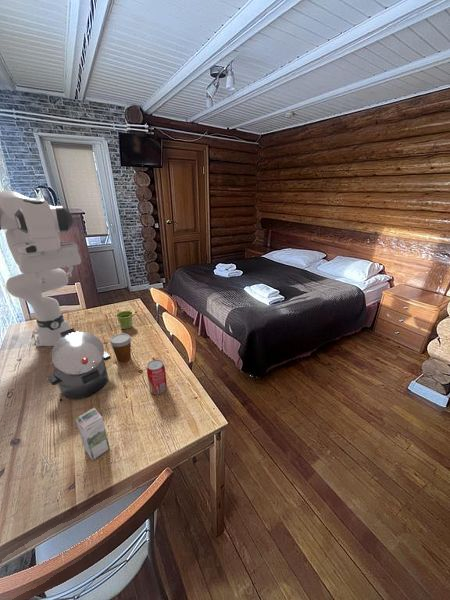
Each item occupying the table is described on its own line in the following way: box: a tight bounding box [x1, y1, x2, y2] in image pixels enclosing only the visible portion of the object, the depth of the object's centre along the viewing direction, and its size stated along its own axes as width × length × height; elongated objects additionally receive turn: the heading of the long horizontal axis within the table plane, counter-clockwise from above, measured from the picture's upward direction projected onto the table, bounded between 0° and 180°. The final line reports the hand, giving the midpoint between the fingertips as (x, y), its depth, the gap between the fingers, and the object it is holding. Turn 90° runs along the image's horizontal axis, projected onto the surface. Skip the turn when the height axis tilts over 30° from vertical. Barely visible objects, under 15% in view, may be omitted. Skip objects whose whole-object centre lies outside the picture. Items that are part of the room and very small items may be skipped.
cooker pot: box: [46, 350, 111, 401], centre depth 107 cm, size 19×23×11 cm
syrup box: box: [75, 407, 111, 461], centre depth 80 cm, size 6×6×14 cm
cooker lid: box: [51, 327, 105, 376], centre depth 101 cm, size 20×18×4 cm
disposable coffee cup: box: [109, 333, 132, 364], centre depth 124 cm, size 10×10×12 cm
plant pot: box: [115, 310, 134, 330], centre depth 153 cm, size 9×9×9 cm
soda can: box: [146, 359, 168, 395], centre depth 105 cm, size 7×7×13 cm
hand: (56, 279), depth 101 cm, fingers open, 8 cm apart
